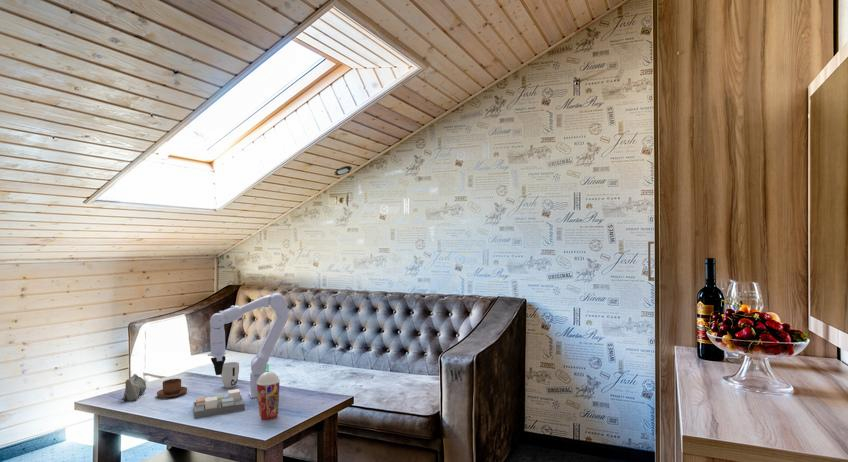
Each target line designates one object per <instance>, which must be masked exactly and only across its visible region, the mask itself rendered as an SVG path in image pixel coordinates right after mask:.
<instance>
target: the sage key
mask: <svg viewBox="0 0 848 462" xmlns="http://www.w3.org/2000/svg"><path fill="white" fill-rule="evenodd" d="M211 397H217V403H221V399H224V397H225V396H224V394H217V395H212V396H211Z"/></svg>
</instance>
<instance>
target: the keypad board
mask: <svg viewBox="0 0 848 462" xmlns="http://www.w3.org/2000/svg"><path fill="white" fill-rule="evenodd" d="M226 398H228V396H224V399H226ZM245 405H246V404H245V401H244V399H243V397H242V395H241V394H240V400H234V405H231V406H225V407H222V402H221V403H217V408H212V409H206V410H205V405H202V406H196V401H193V414H194V419H197V418H204V417H210V416H216V414H217V415H221V414H228V413H233V412H239V411H245V410H246V406H245Z"/></svg>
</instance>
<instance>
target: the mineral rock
mask: <svg viewBox="0 0 848 462" xmlns="http://www.w3.org/2000/svg"><path fill="white" fill-rule="evenodd" d="M146 383H147V382H146V380H145V379H144V378H142V377H141V376H138V375H137V374H136V373H133V375H132V376H131V377H129V379H126V380H125V390H124V393H123V400H124V401H135V400H138V398H139V397H140V396H141V395H142V394H143V393H145V391H146V389H147V384H146Z"/></svg>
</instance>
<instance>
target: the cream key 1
mask: <svg viewBox="0 0 848 462" xmlns="http://www.w3.org/2000/svg"><path fill="white" fill-rule="evenodd" d="M212 408H217V397H212V396H211V397H208V398H205V410H206V409H212Z"/></svg>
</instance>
